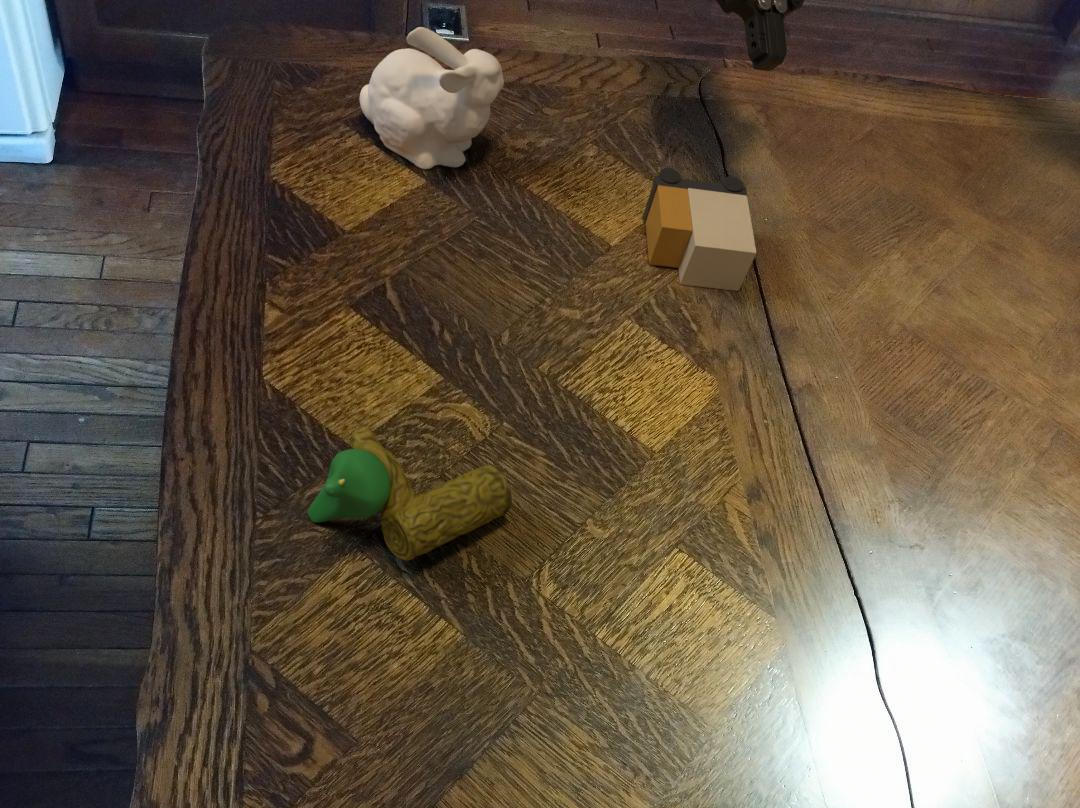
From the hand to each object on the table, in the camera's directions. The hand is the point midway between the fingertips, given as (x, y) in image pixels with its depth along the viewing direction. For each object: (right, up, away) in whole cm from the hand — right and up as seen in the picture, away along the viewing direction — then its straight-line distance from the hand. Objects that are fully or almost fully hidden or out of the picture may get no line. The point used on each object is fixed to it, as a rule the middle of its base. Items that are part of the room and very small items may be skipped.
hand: (769, 66), depth 79 cm
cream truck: (-5, -8, +7) cm, 12 cm away
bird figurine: (-28, -38, -13) cm, 49 cm away
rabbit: (-28, -4, +8) cm, 29 cm away
